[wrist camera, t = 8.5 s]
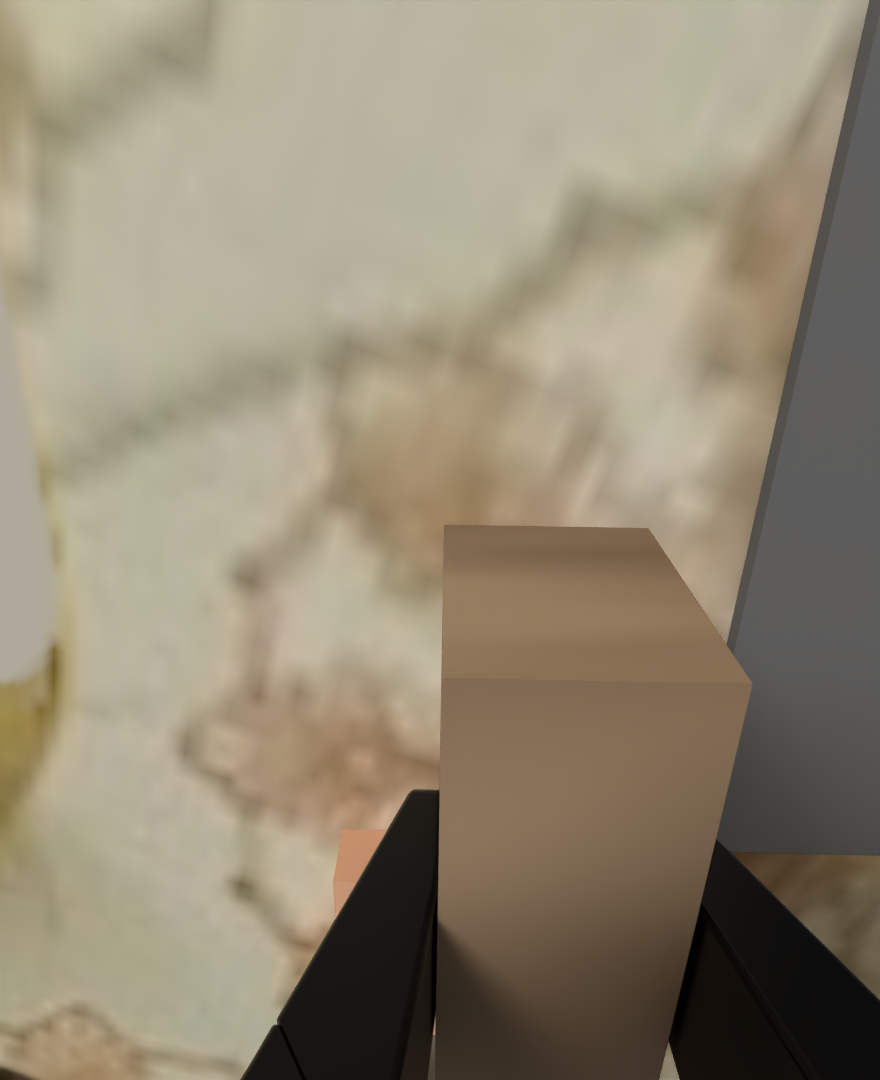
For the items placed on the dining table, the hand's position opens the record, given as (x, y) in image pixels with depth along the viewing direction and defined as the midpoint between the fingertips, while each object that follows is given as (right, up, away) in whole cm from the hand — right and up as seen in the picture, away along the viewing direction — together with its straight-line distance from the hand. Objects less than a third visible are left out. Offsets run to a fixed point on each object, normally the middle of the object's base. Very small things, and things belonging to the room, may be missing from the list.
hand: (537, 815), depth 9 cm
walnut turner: (0, -3, +2) cm, 4 cm away
